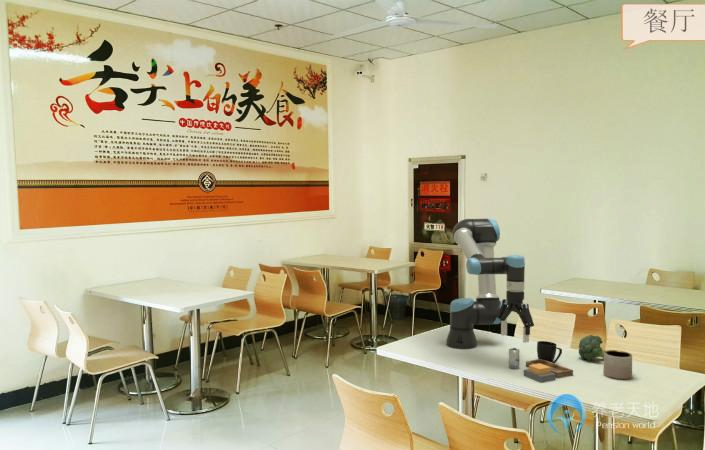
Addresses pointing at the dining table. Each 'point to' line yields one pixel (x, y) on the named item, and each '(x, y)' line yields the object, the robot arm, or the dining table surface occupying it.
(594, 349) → the vegetable
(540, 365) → the orange square block
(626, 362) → the planter
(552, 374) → the frame
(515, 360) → the cell
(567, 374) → the wooden tray
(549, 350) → the mug
